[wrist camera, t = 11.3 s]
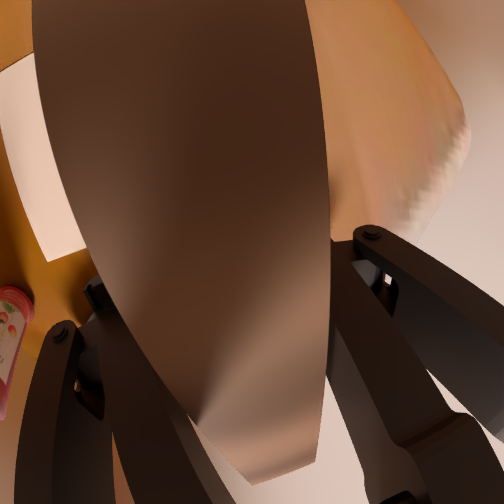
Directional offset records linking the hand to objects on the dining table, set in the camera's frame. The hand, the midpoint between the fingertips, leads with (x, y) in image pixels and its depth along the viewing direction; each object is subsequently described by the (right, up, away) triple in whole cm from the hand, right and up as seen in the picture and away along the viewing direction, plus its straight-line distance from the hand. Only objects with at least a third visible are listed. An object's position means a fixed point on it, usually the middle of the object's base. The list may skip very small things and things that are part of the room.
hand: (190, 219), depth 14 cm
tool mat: (-21, +10, +10) cm, 25 cm away
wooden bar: (-1, +1, +2) cm, 2 cm away
